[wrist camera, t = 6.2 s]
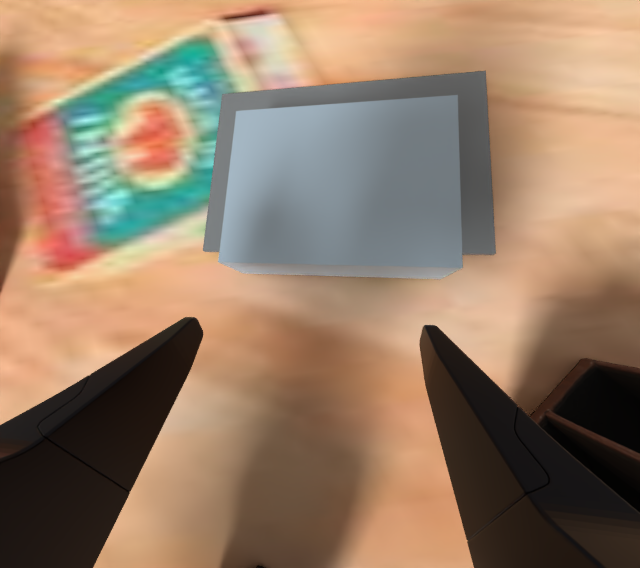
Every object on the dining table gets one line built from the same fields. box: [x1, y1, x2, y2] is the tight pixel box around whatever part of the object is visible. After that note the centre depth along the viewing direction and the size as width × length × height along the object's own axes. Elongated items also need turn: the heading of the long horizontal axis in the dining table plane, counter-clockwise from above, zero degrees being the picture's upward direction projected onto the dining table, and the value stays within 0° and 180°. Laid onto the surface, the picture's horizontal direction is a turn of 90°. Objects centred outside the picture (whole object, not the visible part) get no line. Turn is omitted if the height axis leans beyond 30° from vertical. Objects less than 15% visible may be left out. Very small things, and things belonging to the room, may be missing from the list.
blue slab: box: [218, 95, 463, 279], centre depth 19 cm, size 4×16×12 cm
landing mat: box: [203, 71, 496, 255], centre depth 22 cm, size 16×24×1 cm, turn 87°
